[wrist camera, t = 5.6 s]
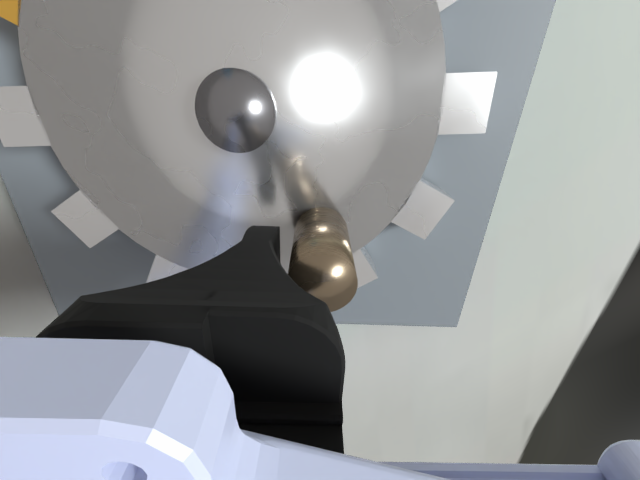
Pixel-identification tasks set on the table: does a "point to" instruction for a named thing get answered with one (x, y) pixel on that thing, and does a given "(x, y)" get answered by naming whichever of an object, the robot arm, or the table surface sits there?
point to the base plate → (385, 249)
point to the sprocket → (243, 124)
